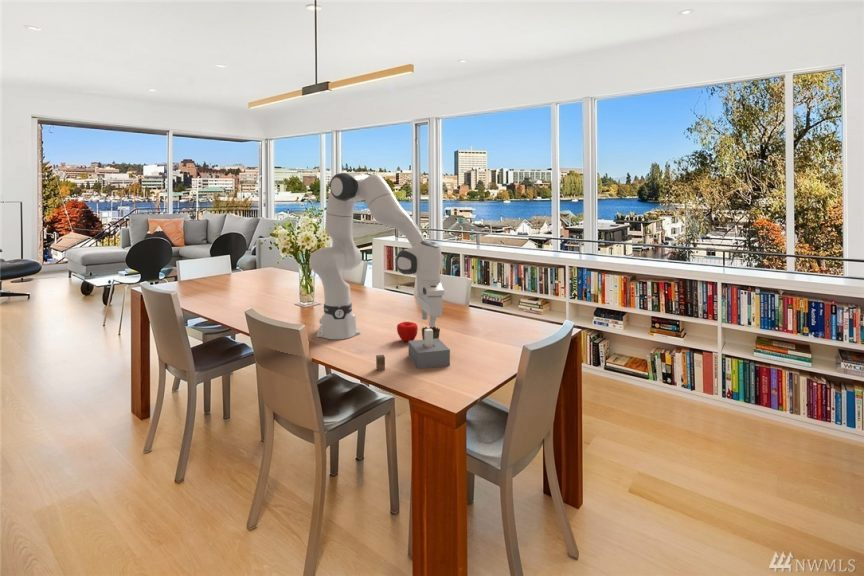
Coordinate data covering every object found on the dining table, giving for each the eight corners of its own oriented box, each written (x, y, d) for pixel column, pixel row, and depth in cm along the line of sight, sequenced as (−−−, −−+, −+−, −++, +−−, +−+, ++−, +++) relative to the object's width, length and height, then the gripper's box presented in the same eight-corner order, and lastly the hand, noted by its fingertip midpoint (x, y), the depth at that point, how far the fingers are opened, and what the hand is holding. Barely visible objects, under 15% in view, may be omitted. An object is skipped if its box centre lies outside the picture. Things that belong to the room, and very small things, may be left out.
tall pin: (424, 359, 179) (424, 329, 176) (430, 358, 179) (431, 328, 177) (426, 361, 176) (426, 331, 174) (432, 361, 177) (433, 330, 174)
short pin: (376, 368, 169) (376, 355, 168) (383, 367, 170) (383, 354, 169) (377, 371, 167) (377, 357, 166) (384, 370, 168) (384, 357, 167)
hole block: (408, 355, 183) (408, 340, 181) (438, 352, 186) (438, 338, 185) (418, 368, 169) (418, 352, 168) (449, 365, 173) (450, 349, 172)
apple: (394, 338, 203) (394, 321, 202) (414, 336, 206) (414, 319, 204) (399, 345, 195) (399, 326, 193) (420, 343, 198) (420, 325, 196)
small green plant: (423, 351, 188) (424, 331, 186) (419, 345, 195) (419, 326, 193) (441, 349, 190) (442, 330, 188) (436, 344, 197) (437, 325, 195)
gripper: (413, 280, 181) (412, 315, 184) (428, 292, 162) (427, 331, 165) (429, 280, 183) (428, 314, 185) (445, 291, 163) (444, 330, 166)
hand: (428, 322), depth 175 cm, fingers open, 8 cm apart
